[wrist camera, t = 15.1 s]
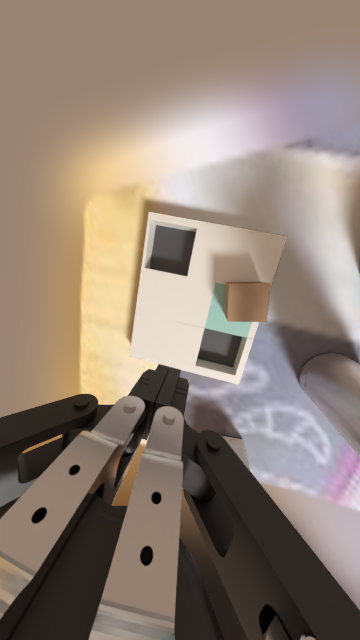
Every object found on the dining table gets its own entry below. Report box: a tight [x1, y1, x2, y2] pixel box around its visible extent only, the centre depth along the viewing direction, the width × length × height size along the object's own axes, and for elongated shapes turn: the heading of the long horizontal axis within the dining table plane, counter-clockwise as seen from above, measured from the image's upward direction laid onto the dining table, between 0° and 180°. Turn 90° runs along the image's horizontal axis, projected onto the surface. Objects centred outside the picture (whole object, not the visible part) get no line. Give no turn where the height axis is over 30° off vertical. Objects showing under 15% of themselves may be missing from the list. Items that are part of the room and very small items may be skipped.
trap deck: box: [129, 212, 287, 384], centre depth 30 cm, size 20×24×3 cm
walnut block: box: [224, 281, 271, 322], centre depth 25 cm, size 5×5×4 cm
